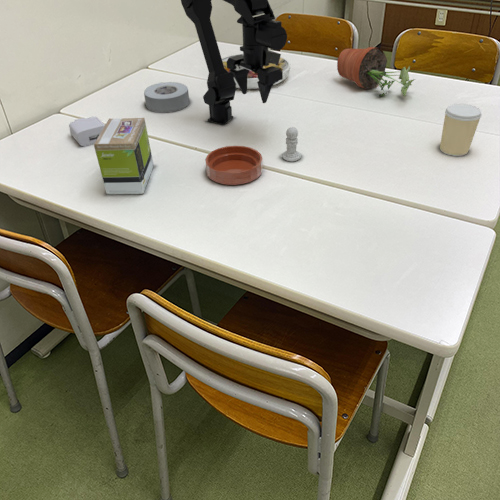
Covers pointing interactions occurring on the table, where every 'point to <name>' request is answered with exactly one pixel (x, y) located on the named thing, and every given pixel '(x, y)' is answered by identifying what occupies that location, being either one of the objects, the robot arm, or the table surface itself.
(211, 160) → the bowl
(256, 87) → the bowl
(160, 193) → the table surface
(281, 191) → the table surface
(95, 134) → the charger
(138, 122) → the tea box
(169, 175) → the table surface
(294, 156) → the chess piece
